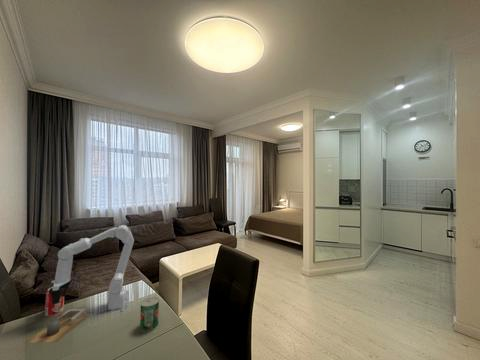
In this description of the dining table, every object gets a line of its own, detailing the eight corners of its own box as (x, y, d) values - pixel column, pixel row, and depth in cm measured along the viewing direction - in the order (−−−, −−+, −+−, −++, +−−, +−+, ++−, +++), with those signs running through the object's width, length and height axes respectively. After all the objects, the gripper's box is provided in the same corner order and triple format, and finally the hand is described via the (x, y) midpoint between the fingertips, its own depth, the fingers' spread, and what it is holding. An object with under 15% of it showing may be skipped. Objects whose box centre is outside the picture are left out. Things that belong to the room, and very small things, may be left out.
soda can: (51, 318, 98) (53, 291, 99) (40, 317, 99) (42, 290, 100) (66, 310, 105) (68, 285, 106) (56, 309, 106) (57, 284, 107)
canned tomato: (161, 325, 92) (161, 301, 93) (144, 334, 86) (144, 308, 87) (153, 318, 97) (154, 295, 98) (137, 326, 92) (137, 301, 92)
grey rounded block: (61, 329, 88) (62, 319, 88) (53, 336, 84) (54, 325, 84) (52, 330, 88) (53, 319, 88) (43, 336, 84) (44, 325, 84)
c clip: (86, 313, 100) (86, 308, 100) (72, 324, 91) (72, 319, 92) (69, 314, 100) (69, 309, 100) (53, 325, 91) (54, 319, 91)
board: (91, 314, 101) (91, 312, 101) (56, 344, 81) (56, 341, 81) (65, 315, 100) (65, 313, 100) (24, 345, 80) (24, 342, 80)
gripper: (59, 266, 103) (55, 294, 102) (46, 277, 90) (40, 308, 89) (76, 266, 106) (72, 292, 105) (65, 275, 93) (60, 306, 91)
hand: (59, 299), depth 97 cm, fingers open, 7 cm apart
